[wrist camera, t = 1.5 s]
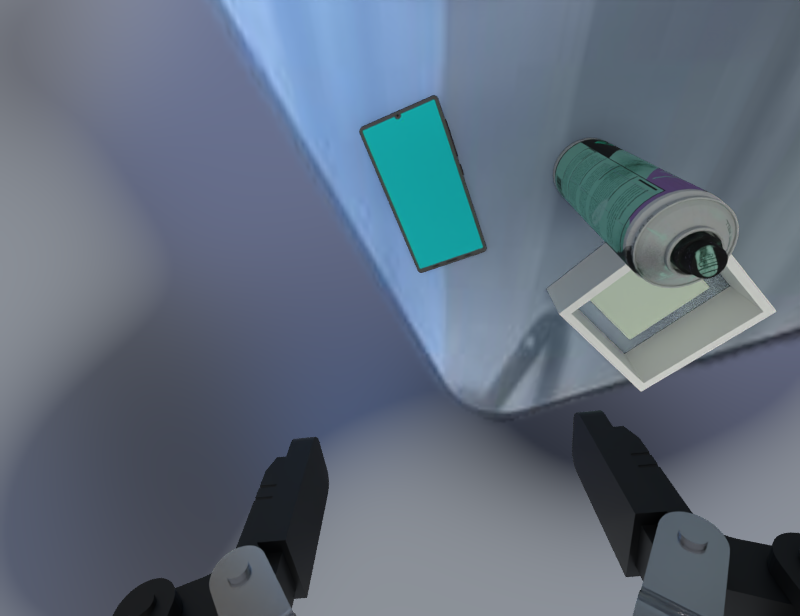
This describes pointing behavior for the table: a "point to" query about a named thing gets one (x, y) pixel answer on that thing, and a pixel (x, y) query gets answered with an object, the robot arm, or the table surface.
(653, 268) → the spray can
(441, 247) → the smartphone
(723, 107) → the table surface
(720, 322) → the white square tray
